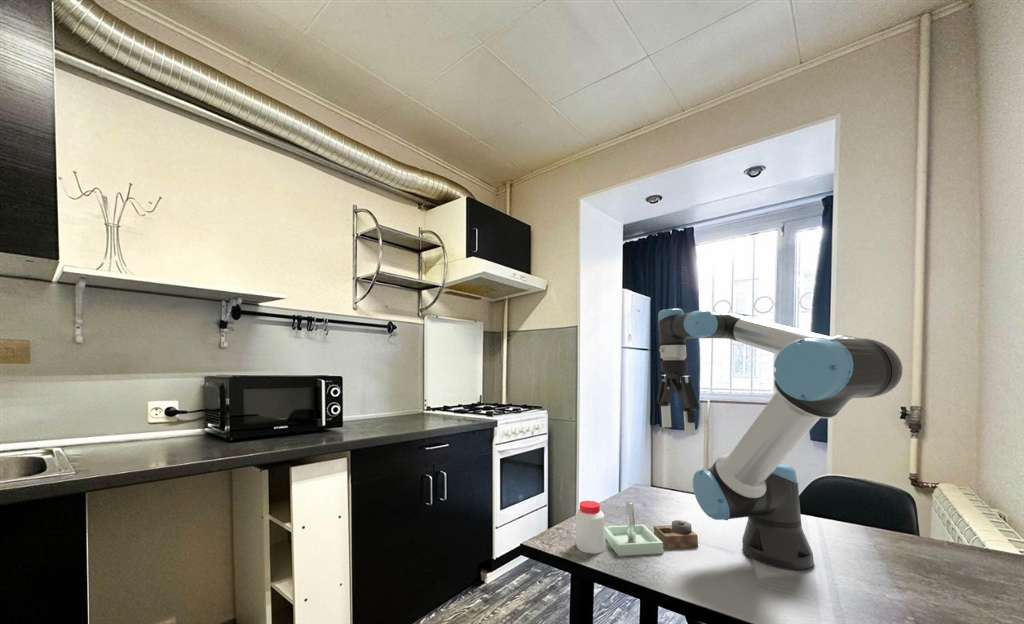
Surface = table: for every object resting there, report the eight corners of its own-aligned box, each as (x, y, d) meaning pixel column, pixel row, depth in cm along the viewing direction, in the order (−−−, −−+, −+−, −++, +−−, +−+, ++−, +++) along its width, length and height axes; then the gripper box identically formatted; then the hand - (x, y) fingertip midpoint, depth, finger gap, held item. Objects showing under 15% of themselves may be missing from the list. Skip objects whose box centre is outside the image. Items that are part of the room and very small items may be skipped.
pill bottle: (598, 556, 102) (596, 511, 104) (571, 548, 107) (570, 505, 108) (610, 545, 108) (608, 502, 110) (584, 538, 113) (583, 497, 114)
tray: (643, 533, 115) (643, 524, 116) (663, 553, 103) (662, 542, 104) (603, 536, 114) (603, 526, 114) (618, 556, 102) (618, 545, 103)
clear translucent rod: (636, 541, 109) (634, 502, 111) (635, 544, 107) (633, 504, 109) (628, 539, 110) (626, 501, 112) (627, 542, 108) (624, 503, 110)
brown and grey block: (684, 535, 114) (683, 516, 115) (698, 546, 107) (696, 526, 108) (654, 537, 113) (653, 517, 114) (666, 548, 106) (664, 527, 107)
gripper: (644, 360, 135) (647, 424, 132) (683, 359, 110) (688, 438, 107) (665, 359, 136) (669, 424, 133) (708, 358, 111) (714, 437, 108)
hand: (677, 430), depth 120 cm, fingers open, 13 cm apart
